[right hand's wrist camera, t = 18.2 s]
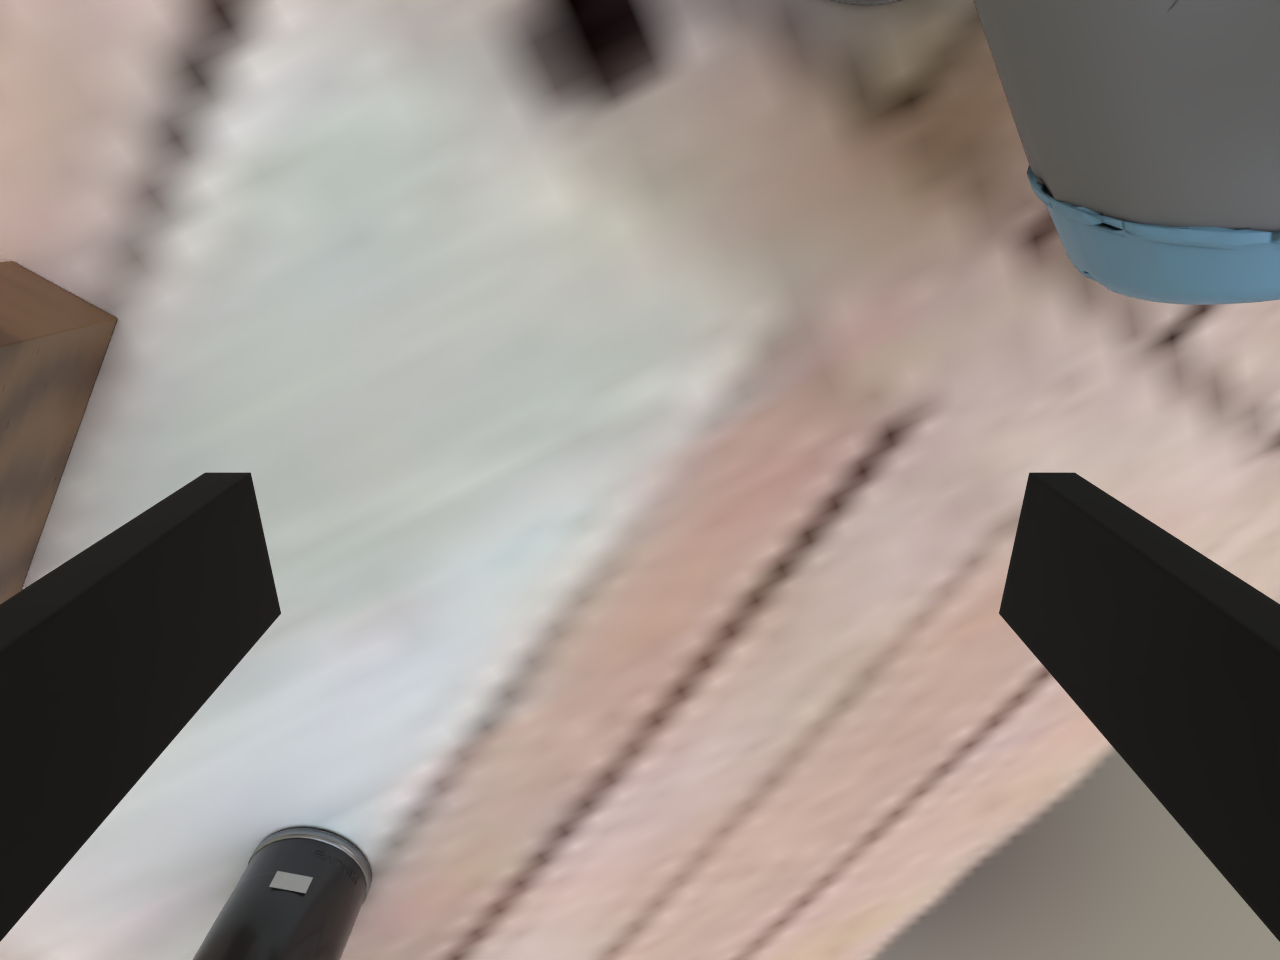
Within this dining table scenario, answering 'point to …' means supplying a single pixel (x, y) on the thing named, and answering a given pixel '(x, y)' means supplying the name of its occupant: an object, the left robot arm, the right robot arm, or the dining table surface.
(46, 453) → the box
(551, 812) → the dining table surface
